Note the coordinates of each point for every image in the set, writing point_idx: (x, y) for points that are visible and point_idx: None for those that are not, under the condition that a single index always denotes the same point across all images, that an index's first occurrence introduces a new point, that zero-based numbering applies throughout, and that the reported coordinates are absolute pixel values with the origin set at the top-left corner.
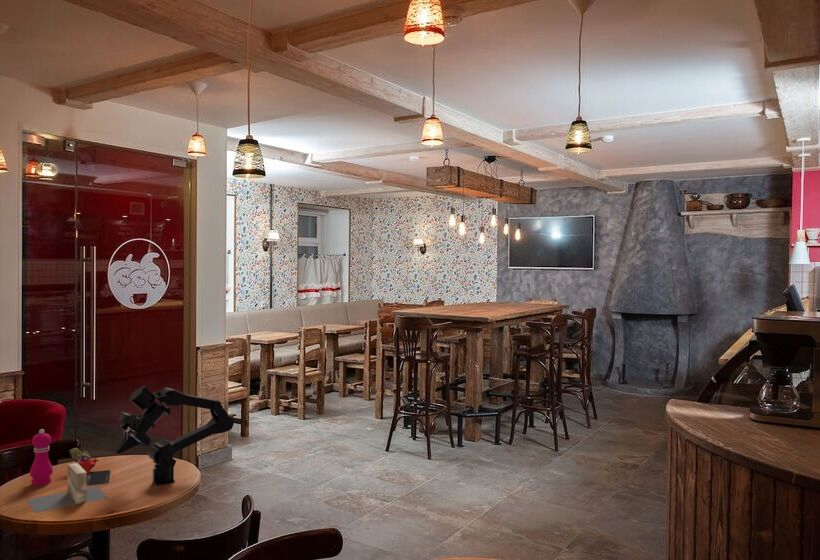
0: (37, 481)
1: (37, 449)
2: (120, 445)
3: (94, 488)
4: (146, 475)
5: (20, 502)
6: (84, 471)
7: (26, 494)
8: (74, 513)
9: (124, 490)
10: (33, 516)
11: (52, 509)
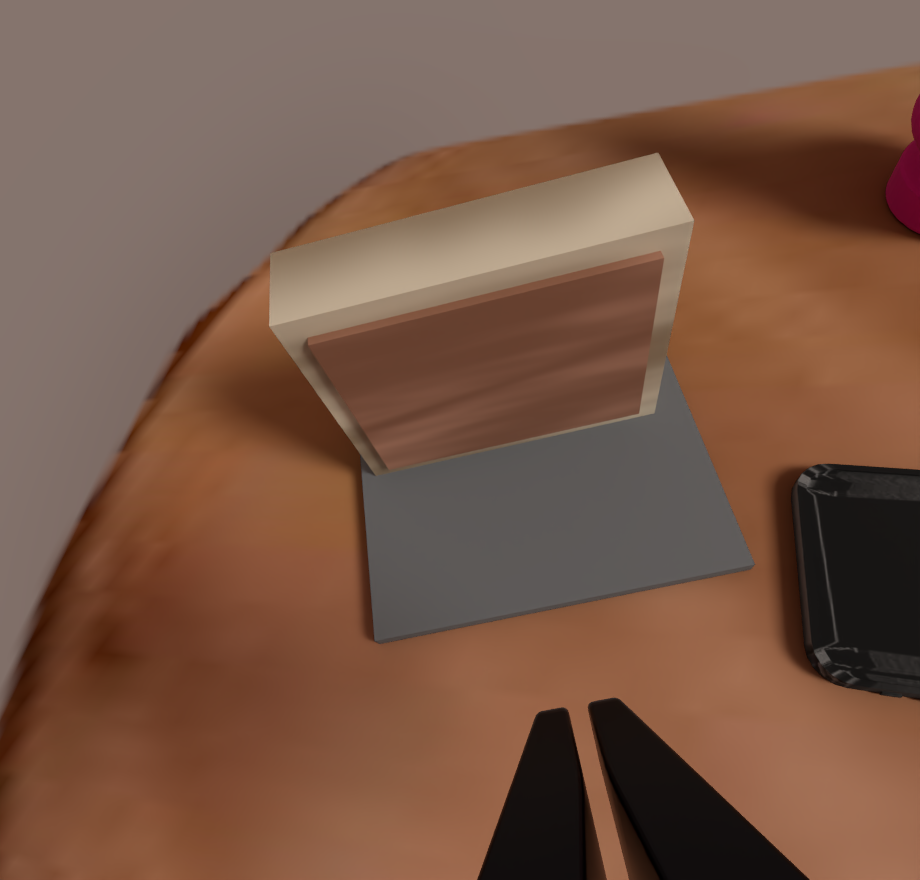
0: (909, 154)
1: None
2: (640, 842)
3: (681, 540)
4: None
5: (588, 165)
6: (305, 308)
7: (731, 165)
8: (241, 419)
9: None
10: None
11: None
